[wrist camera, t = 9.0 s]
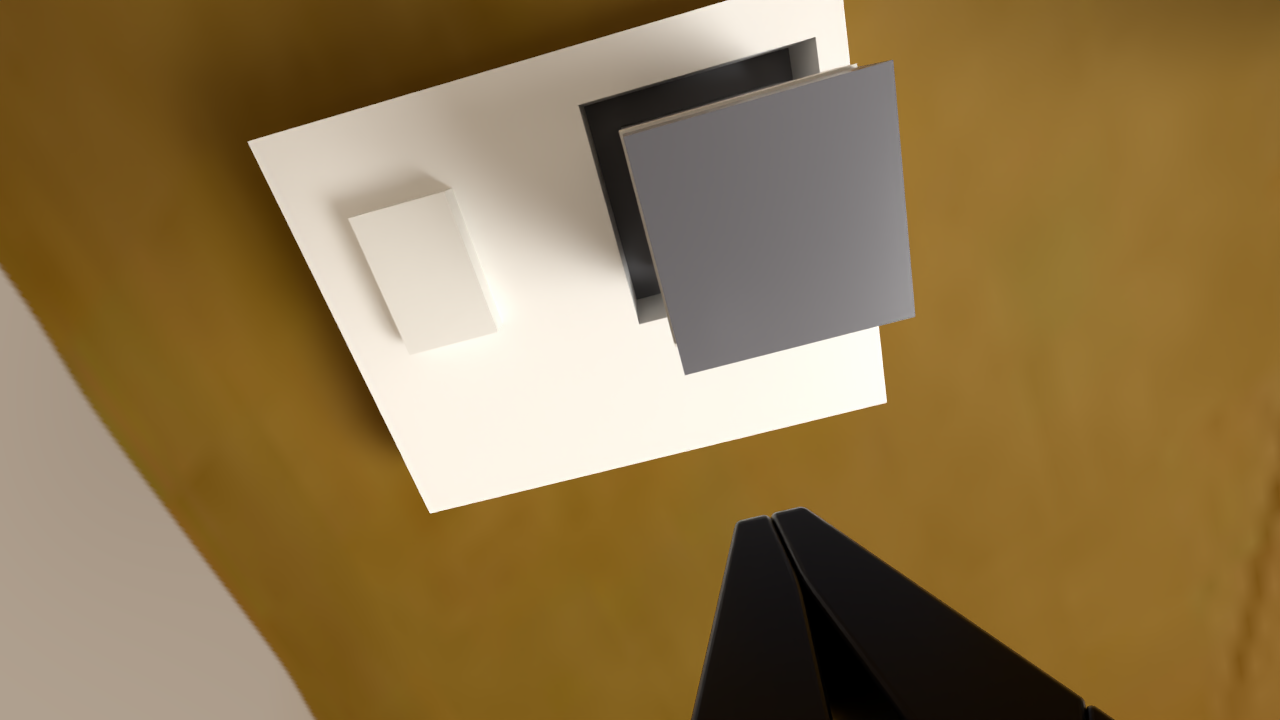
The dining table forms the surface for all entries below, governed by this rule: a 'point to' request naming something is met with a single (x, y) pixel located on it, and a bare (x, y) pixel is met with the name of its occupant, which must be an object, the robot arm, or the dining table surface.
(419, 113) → the socket plate
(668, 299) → the plug
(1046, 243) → the dining table surface
